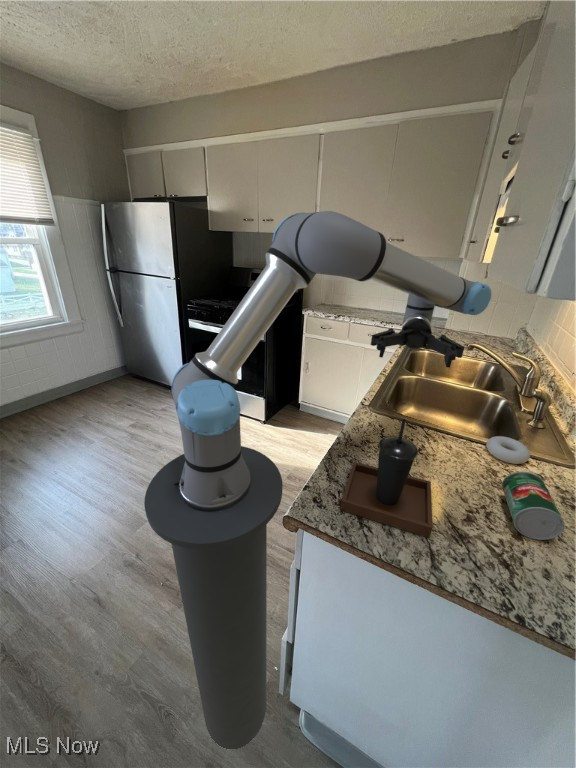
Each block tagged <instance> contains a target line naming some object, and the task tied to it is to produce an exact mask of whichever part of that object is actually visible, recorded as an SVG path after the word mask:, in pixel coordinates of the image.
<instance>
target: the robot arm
mask: <svg viewBox="0 0 576 768" xmlns="http://www.w3.org/2000/svg"><path fill="white" fill-rule="evenodd" d="M271 242H272V243H271V246H270V247H269V249H268V250H267V251H266V253H265V262H266V265H265V266H264V268H263V269H262V271H261V273H260V274H259V275H258V277H257V278H256V280H255V281H254V283H253V284H252V285H251V286H250V288H249V289H248V291H247V293H245V295H244V296H243V298H242V299H241V301H239V304H238V305H237V306H236V308H235V309H234V311H233V312H232V314H231V315H230V317H229V318H228V319H227V321H226V322H225V324H224V325H223V327H222V328H221V329H220V331H219V332H218V333H217V335H216V337H215V338H214V339H213V341H212V342H211V344H210V345H209V347H208V348H207V349H206V350H205V351H201V352H196V353H195V354H194V356H193V357H192V359H191V360H190V361H189V362H187V363H184V364H183V365H182V366H180V367H179V368H178V369H177V371H176V372H175V373H174V375H173V378H172V381H171V391H170V392H171V396H172V400H173V402H174V406H175V410H176V414H177V419H178V424H179V427H180V434H181V441H182V447H183V454H184V455H185V464H184V468H183V472H182V476H181V479H179V480H177V481H174V485H178V484H180V492H181V497H182V499H183V501H184V502H185V503H186V504H187V505H188V506H190V507H192V508H194V509H196V510H200V511H207V512H213V511H220V510H224V509H227V508H229V507H232V506H234V505H235V504H237V503H238V502H240V501H241V500H242V499H243V498H244V497H245V496H246V495H247V493H248V491H249V489H250V485H251V478H250V471H249V469H248V467H247V465H246V464H245V461H244V459H243V456H242V454H241V446H242V436H241V403H240V399H239V395H238V392H237V391H236V389H235V387H236V386H237V384H238V383H239V379H238V378H239V377H238V372H239V371H240V369H241V368H242V366H243V365H244V363H245V362H246V361H247V359H248V358H249V356H250V355H251V353H252V352H253V351H254V349H256V347H257V346H258V344H259V343H260V341H261V340H262V338H263V337H264V336H265V335H266V333H267V331H269V329H270V327H271V326H272V325H273V323H274V322H275V320H276V319H277V318H278V316H279V315H280V313H281V312H282V310H283V309H284V308H285V307H286V305H287V304H288V302H289V301H290V300H291V298H292V297H293V295H294V294H295V293H296V291H297V290H301V289H306V288H307V287H308V286H309V285H310V283H312V280H313V279H314V278H315V276H316V275H317V274H318V275H325V276H334V277H342V278H346V279H351V280H355V281H357V282H359V283H360V282H361V283H363V282H367V281H372V282H375V283H377V284H380V285H383V286H386V287H389V288H392V289H394V290H397V291H400V292H403V293H405V294H408V296H407V302H406V307H405V311H404V316H403V320H402V326H401V330H400V331H398V332H397V331H396V330H395V329H394V328H392V327H391V328H388V329H387V330H384V331H380V332H377V333H373V334H372V335H371V340H370V346H372V347H374V346H376V350H377V351H379V355H378V357H379V358H384V355H385V352H386V348H387V347H393V346H401V347H404V346H406V347H407V348H409V349H413V350H415V349H421V348H423V349H425V350H432V351H434V352H436V353H438V354H441V355H443V356H444V357H443V358H444V365H445V368H448V369H450V368H451V366H452V362H453V361H456V359H462V358H463V355H464V351H465V349H466V348H465V346H464V345H461V344H460V343H458V342H456V341H455V340H452V339H450V338H448V337H447V335H446V334H440V335H439V336H438V337H436V336H435V335H434V334H433V333H432V332H433V331H432V325H431V324H432V319H433V314H434V310H435V307H438V308H441V309H445V310H449V311H453V312H456V313H460V314H463V315H470V316H478V315H480V314H481V313H483V312H484V311H485V310H486V309H487V308H488V307H489V304H490V302H491V300H492V289H491V286H490V285H488V284H486V283H484V282H483V283H482V282H479V281H472V280H468V279H466V278H464V277H462V276H459V275H457V274H456V273H454V272H451V271H450V270H449V271H448V270H447V269H445V268H442V267H440V266H438V265H436V264H434V263H432V262H429V261H427V260H426V259H423V258H421V257H419V256H417V255H414V254H412V253H410V252H408V251H406V250H404V249H402V248H400V247H397V246H395V245H393V244H392V243H389V242H388V241H387V238H386V236H385V235H384V234H383V233H382V232H379V231H378V230H375V229H373V228H372V227H370V226H367V225H365V224H364V223H362V222H360V221H357V220H355V219H353V218H351V217H350V216H347V215H345V214H342V213H340V212H337V211H333V210H321V211H313V212H296V213H294V214H291V215H289V216H287V217H285V218H284V219H283V220H281V221H280V222H279V223H278V224H277V227H276V228H275V230H274V232H273V235H272V241H271Z"/></svg>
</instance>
